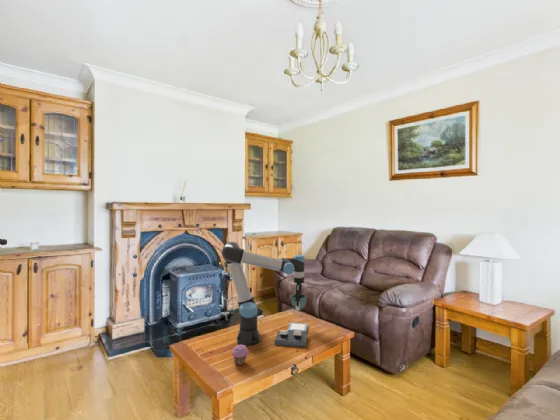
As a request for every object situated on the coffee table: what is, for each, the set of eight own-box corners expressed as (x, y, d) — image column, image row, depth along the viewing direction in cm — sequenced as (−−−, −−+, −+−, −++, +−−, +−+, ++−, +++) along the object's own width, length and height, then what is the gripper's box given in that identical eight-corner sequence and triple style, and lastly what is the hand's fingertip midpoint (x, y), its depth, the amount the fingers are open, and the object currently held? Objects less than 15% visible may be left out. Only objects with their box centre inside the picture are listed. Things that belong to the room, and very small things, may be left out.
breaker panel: (274, 344, 194) (274, 338, 194) (278, 335, 208) (278, 329, 208) (305, 347, 191) (305, 340, 191) (307, 337, 205) (307, 331, 205)
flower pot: (300, 311, 212) (300, 298, 211) (290, 308, 217) (290, 296, 217) (307, 308, 218) (307, 295, 218) (297, 305, 224) (297, 293, 224)
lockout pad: (287, 332, 214) (287, 329, 214) (290, 324, 226) (290, 322, 226) (306, 333, 211) (306, 331, 211) (307, 325, 224) (307, 323, 224)
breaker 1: (279, 334, 197) (279, 330, 197) (281, 333, 204) (281, 329, 205) (286, 334, 196) (286, 330, 197) (288, 333, 203) (288, 330, 204)
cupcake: (229, 364, 171) (229, 346, 171) (238, 357, 178) (238, 340, 178) (241, 368, 166) (241, 350, 166) (251, 361, 174) (251, 344, 174)
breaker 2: (293, 335, 195) (293, 331, 196) (294, 334, 203) (295, 330, 203) (300, 335, 194) (300, 331, 195) (301, 334, 202) (301, 331, 203)
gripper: (302, 281, 205) (302, 313, 206) (305, 273, 228) (305, 302, 228) (291, 280, 207) (291, 312, 207) (295, 273, 229) (295, 302, 230)
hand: (298, 307), depth 218 cm, fingers closed on flower pot, 10 cm apart
